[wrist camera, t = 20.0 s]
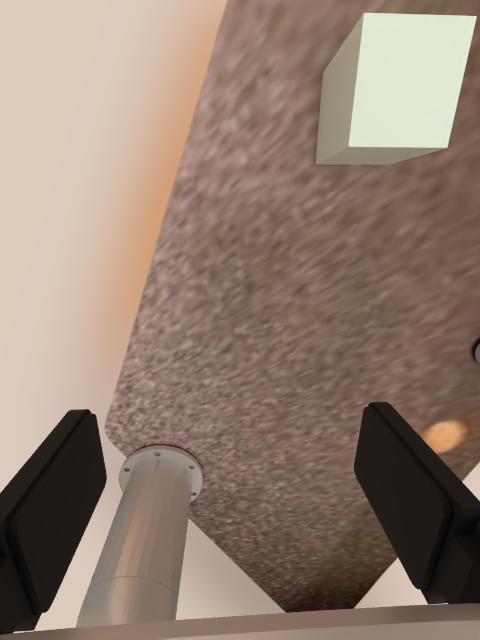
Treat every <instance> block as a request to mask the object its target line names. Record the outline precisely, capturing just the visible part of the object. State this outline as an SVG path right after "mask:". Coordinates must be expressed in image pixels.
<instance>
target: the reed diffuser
mask: <svg viewBox="0 0 480 640" xmlns="http://www.w3.org/2000/svg"><path fill="white" fill-rule="evenodd" d="M475 358H476V360H477V361H478V362H479V363H480V344H479V345H478V346H477V348H476V351H475Z"/></svg>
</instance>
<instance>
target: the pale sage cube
mask: <svg viewBox="0 0 480 640" xmlns="http://www.w3.org/2000/svg"><path fill="white" fill-rule="evenodd" d="M476 17H477V16H451V15H417V14H383V13H364V14H363V15H362V17H361V18H360V20H359V21H358V23H357V24H356V26H355V27H354V28H353V30H352V31H351V33H350V34H349V36H348V37H347V39H346V40H345V41H344V43H343V44H342V46H341V47H340V49H339V50H338V52H337V53H336V55H335V56H334V57H333V59H332V60H331V62H330V63H329V65H328V66H327V68H326V69H325V70H324V72H323V79H322V91H321V103H320V115H319V127H318V138H317V150H316V162H315V165H390V164H393V163H397V162H400V161H404V160H407V159H410V158H414V157H417V156H421V155H424V154H428V153H431V152H434V151H438V150H441V149H445V148H447V147H448V142H449V138H450V133H451V129H452V124H453V120H454V115H455V111H456V106H457V102H458V97H459V93H460V88H461V84H462V80H463V75H464V71H465V66H466V62H467V57H468V53H469V48H470V44H471V39H472V35H473V30H474V26H475V21H476Z"/></svg>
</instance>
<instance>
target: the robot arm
mask: <svg viewBox="0 0 480 640" xmlns="http://www.w3.org/2000/svg"><path fill="white" fill-rule="evenodd" d="M354 472H355V475H356V478H357V480H358V482H359V483H360V485H361V487H362V489H363V491H364V493H365V495H366V497H367V499H368V501H369V502H370V504H371V506H372V508H373V510H374V512H375V514H376V516H377V518H378V520H379V522H380V523H381V525H382V527H383V529H384V531H385V533H386V535H387V537H388V539H389V541H390V542H391V544H392V546H393V548H394V550H395V552H396V554H397V556H398V558H399V560H400V561H401V563H402V565H403V567H404V569H405V571H406V573H407V575H408V577H409V579H410V580H411V582H412V584H413V585H414V586H415V588H417V589H420V590H421V592H422V593H423V595H424V597H425V599H426V601H427V603H428V604H439V603H440V605H414V606H394V607H378V608H361V609H343V610H326V611H309V612H294V613H279V614H263V615H249V616H233V617H218V618H203V619H188V620H176V612H177V603H178V595H179V587H180V580H181V572H182V564H183V555H184V548H185V540H186V532H187V524H188V516H189V508H190V503H191V502H192V501H193V500H194V499H195V498H196V497H197V496H198V495H199V493H200V492H201V489H202V486H203V471H202V468H201V466H200V464H199V463H198V461H197V460H196V459H195V458H194V457H193V456H192V455H190V454H189V453H187V452H186V451H183V450H181V449H179V448H176V447H172V446H165V445H155V446H148V447H145V448H142V449H139V450H138V451H136V452H134V453H133V454H131V455H130V456H129V457H128V458H127V459H126V460H125V462H124V464H123V466H122V468H121V471H120V474H119V483H120V487H121V489H122V491H123V496H122V498H121V501H120V504H119V506H118V509H117V512H116V515H115V517H114V520H113V523H112V525H111V528H110V531H109V534H108V536H107V539H106V542H105V544H104V547H103V550H102V552H101V555H100V558H99V561H98V563H97V566H96V569H95V572H94V574H93V577H92V580H91V583H90V585H89V588H88V591H87V594H86V596H85V599H84V601H83V604H82V607H81V610H80V613H79V616H78V621H77V625H76V628H66V629H56V630H45V631H34V632H24V633H13V632H15V631H31V630H34V629H35V626H36V625H37V622H38V620H39V618H40V616H41V614H42V613H45V612H47V611H48V610H49V608H50V607H51V604H52V603H53V600H54V598H55V596H56V594H57V592H58V589H59V587H60V585H61V583H62V581H63V578H64V576H65V574H66V572H67V569H68V567H69V565H70V563H71V561H72V558H73V556H74V554H75V552H76V549H77V547H78V545H79V543H80V541H81V538H82V536H83V534H84V532H85V529H86V527H87V525H88V523H89V521H90V518H91V516H92V514H93V512H94V510H95V507H96V505H97V503H98V501H99V498H100V496H101V494H102V492H103V490H104V487H105V484H106V479H107V475H106V469H105V463H104V458H103V452H102V446H101V442H100V435H99V430H98V424H97V419H96V415H95V414H91V412H90V410H88V409H84V410H70V411H68V412H67V414H66V415H65V416H64V417H63V419H62V420H61V421H60V422H59V423H58V425H57V426H56V427H55V428H54V429H53V431H52V432H51V433H50V434H49V435H48V437H47V438H46V439H45V440H44V441H43V442H42V444H41V445H40V446H39V447H38V449H37V450H36V451H35V452H34V453H33V455H32V456H31V457H30V458H29V459H28V461H27V462H26V463H25V464H24V465H23V467H22V468H21V469H20V470H19V471H18V473H17V474H16V475H15V476H14V477H13V479H12V480H11V481H10V482H9V484H8V485H7V486H6V487H5V488H4V490H3V491H2V492H1V493H0V640H480V501H479V500H478V499H477V498H476V497H475V496H474V495H473V493H472V492H471V491H470V490H469V489H468V488H467V487H466V486H465V485H464V484H463V483H462V481H461V480H460V479H459V478H458V477H457V476H456V475H455V474H454V473H453V472H452V471H451V470H450V468H449V467H448V466H447V465H446V464H445V463H444V462H443V461H442V460H441V459H440V458H439V457H438V456H437V454H436V453H435V452H434V451H433V450H432V449H431V448H430V447H429V446H428V445H427V444H426V443H425V441H424V440H423V439H422V438H421V437H420V436H419V435H418V434H417V433H416V432H415V431H414V430H413V429H412V427H411V426H410V425H409V424H408V423H407V422H406V421H405V420H404V419H403V418H402V417H401V416H400V414H399V413H398V412H397V411H396V410H395V409H394V408H393V407H392V406H391V405H390V404H389V403H388V402H371V403H369V405H368V407H365V408H364V411H363V417H362V423H361V428H360V434H359V440H358V446H357V451H356V457H355V463H354ZM441 603H448V604H442V605H441Z"/></svg>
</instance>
